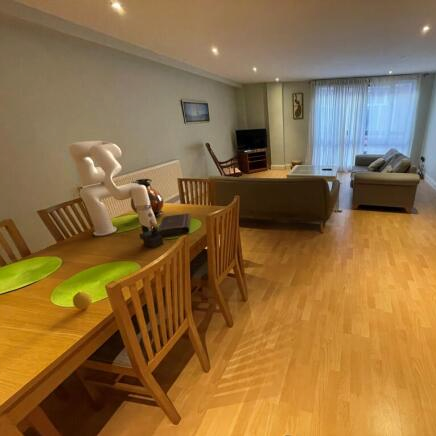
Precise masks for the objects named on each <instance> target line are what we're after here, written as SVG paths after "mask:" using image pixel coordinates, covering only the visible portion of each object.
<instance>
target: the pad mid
mask: <svg viewBox="0 0 436 436" xmlns="http://www.w3.org/2000/svg"><path fill="white" fill-rule="evenodd" d="M161 240H162V241H163V237H161V236H160V235H159V236H157V237H154V238H152V239H149V240H147V241H146V242H148V243H151V244H154V243H157V242H159V241H161ZM144 241H145V240H144Z"/></svg>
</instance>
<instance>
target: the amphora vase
mask: <svg viewBox="0 0 436 436" xmlns="http://www.w3.org/2000/svg"><path fill="white" fill-rule="evenodd" d="M152 181H153V180H152V178H151V179H150V178H139V179H136V180H135V179H134V180H133V181H131V183H137V184H139V185H144V186H145V187H146V189H147V193H148V197H149V200H150V204H151V208H152V211H153V213H154V216H155V219H156V218H159V217H160V216H162V215H163V211H162V210H163V208H164V205H165V203H164V199H163V197H162V195H161V194H160V192H158V191H157V190H156V189H154V188H153V187H152V186H151V183H152ZM130 207H131V209H132V211H133V212H134V213H136V214H137V215H138V213H137V211H136V208H135V205H134V201H133V198H132V197H131V198H130Z"/></svg>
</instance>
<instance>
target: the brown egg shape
mask: <svg viewBox="0 0 436 436" xmlns="http://www.w3.org/2000/svg"><path fill="white" fill-rule="evenodd" d="M72 303H73V306H74V307H75V308H76V309H78V310H86V309H88V308H89V307H90V306H91V305H92V303H93V297H92V295H91V294H90V293H89V292H88V291H84V290H83V291H78V292H76V293H75V294H74V295H73V298H72Z"/></svg>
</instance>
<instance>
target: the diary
mask: <svg viewBox="0 0 436 436" xmlns="http://www.w3.org/2000/svg"><path fill="white" fill-rule="evenodd" d="M190 223H191V215H190V213H182V214H172V215H166V216H163V217H162V219H161V221H160V224H159V226H158V227H157V229H159V230H162V235H159V236H161V237H162V238H163V237H169V236H175V235H177V236H178V235H183V234H188V233H189V232H190Z"/></svg>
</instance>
